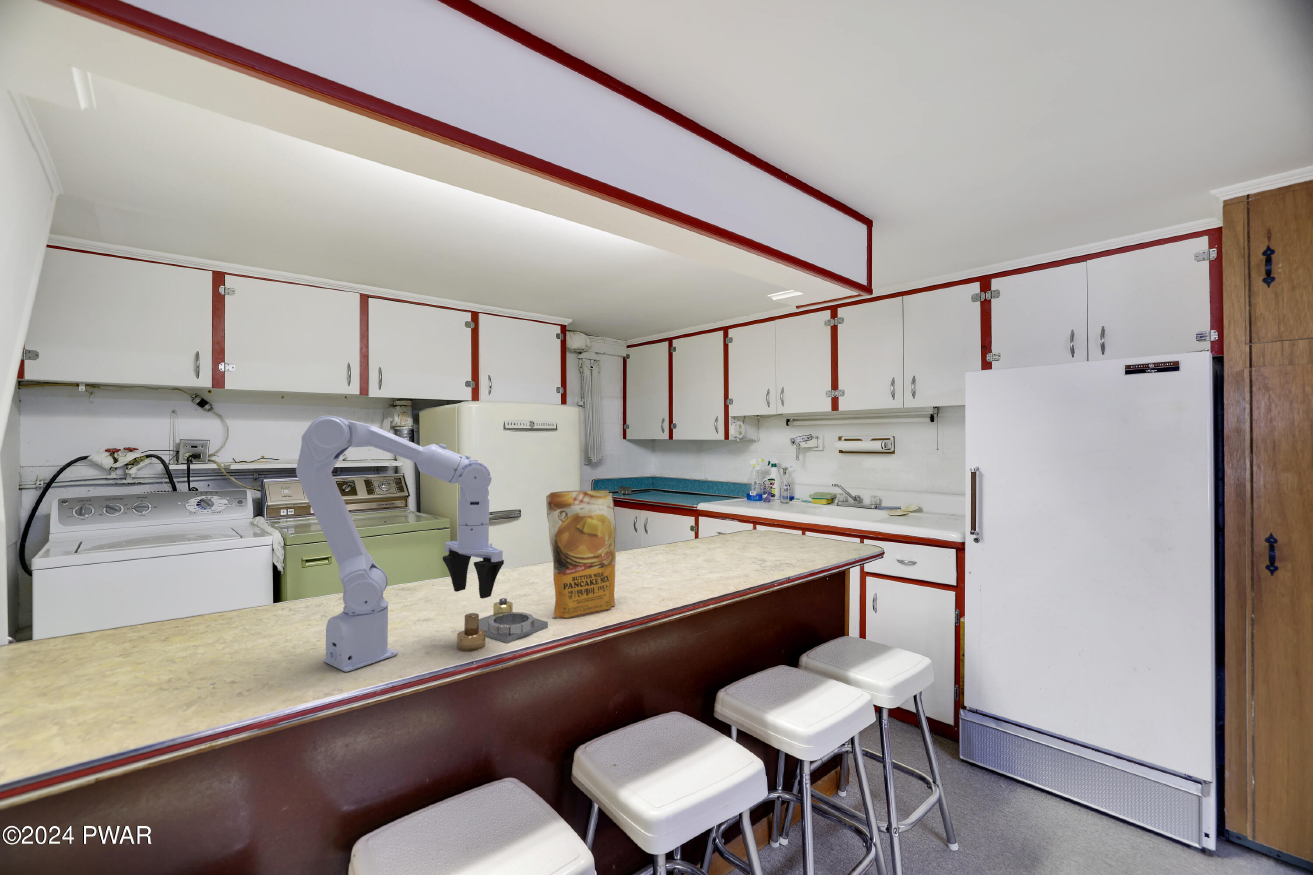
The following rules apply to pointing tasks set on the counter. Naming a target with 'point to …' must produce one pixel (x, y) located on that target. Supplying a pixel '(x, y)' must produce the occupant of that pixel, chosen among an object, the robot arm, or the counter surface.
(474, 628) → the gear
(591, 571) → the pancake mix bag
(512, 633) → the carrier
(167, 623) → the counter surface
